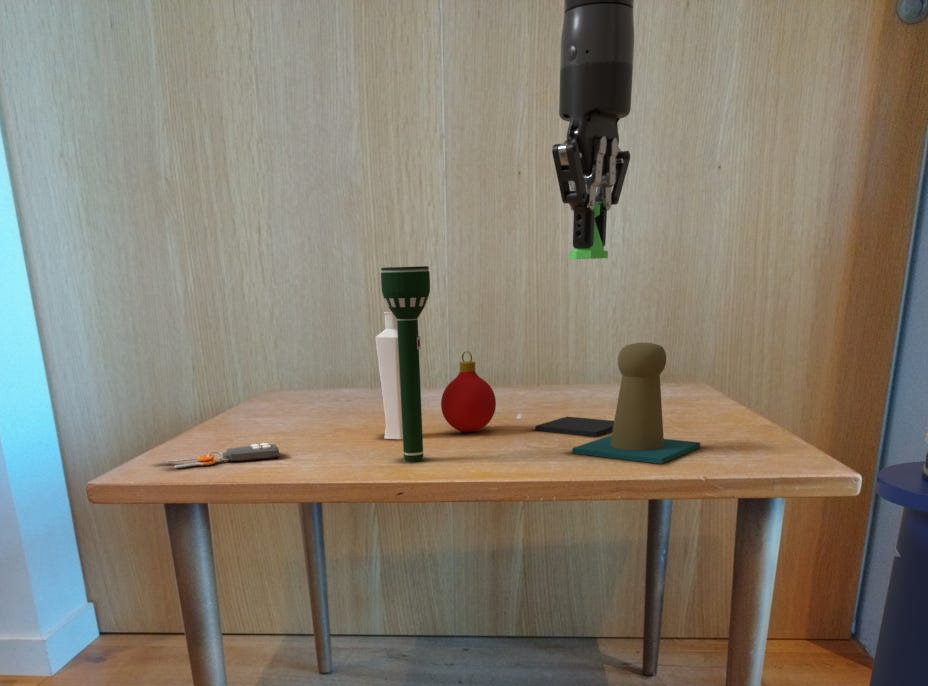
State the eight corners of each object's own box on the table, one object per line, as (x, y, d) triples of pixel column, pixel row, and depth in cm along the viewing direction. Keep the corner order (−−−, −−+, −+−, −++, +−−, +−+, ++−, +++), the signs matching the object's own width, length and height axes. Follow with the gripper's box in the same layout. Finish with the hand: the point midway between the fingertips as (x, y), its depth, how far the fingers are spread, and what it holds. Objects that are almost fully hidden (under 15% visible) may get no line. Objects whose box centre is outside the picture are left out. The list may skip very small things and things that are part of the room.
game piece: (571, 259, 94) (573, 198, 91) (567, 259, 98) (569, 200, 95) (610, 258, 94) (613, 197, 91) (605, 258, 98) (607, 199, 95)
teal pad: (700, 447, 97) (700, 442, 97) (661, 464, 90) (662, 458, 90) (614, 438, 103) (614, 433, 103) (572, 453, 96) (572, 448, 96)
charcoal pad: (626, 426, 111) (626, 421, 110) (596, 436, 105) (596, 431, 105) (566, 420, 116) (567, 416, 115) (534, 430, 110) (535, 425, 110)
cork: (646, 438, 100) (653, 339, 95) (674, 447, 95) (682, 343, 90) (600, 442, 98) (604, 342, 94) (626, 452, 93) (631, 347, 89)
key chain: (274, 453, 102) (273, 440, 101) (280, 458, 99) (279, 445, 98) (162, 464, 98) (160, 451, 97) (165, 470, 94) (163, 457, 94)
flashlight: (428, 465, 93) (420, 266, 85) (384, 464, 94) (372, 268, 86) (441, 456, 97) (435, 265, 89) (400, 454, 99) (390, 267, 90)
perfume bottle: (422, 434, 110) (417, 310, 104) (407, 440, 106) (401, 312, 100) (391, 432, 112) (384, 311, 106) (375, 438, 108) (367, 313, 102)
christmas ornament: (430, 433, 110) (427, 352, 106) (465, 425, 115) (464, 347, 111) (472, 439, 106) (471, 355, 102) (507, 430, 111) (506, 349, 107)
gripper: (596, 48, 81) (588, 247, 88) (658, 69, 91) (647, 246, 98) (529, 60, 85) (527, 249, 92) (596, 79, 95) (589, 248, 102)
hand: (589, 247), depth 95 cm, fingers closed on game piece, 2 cm apart
